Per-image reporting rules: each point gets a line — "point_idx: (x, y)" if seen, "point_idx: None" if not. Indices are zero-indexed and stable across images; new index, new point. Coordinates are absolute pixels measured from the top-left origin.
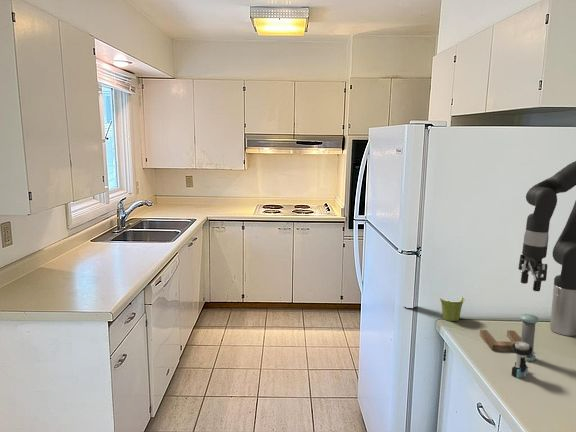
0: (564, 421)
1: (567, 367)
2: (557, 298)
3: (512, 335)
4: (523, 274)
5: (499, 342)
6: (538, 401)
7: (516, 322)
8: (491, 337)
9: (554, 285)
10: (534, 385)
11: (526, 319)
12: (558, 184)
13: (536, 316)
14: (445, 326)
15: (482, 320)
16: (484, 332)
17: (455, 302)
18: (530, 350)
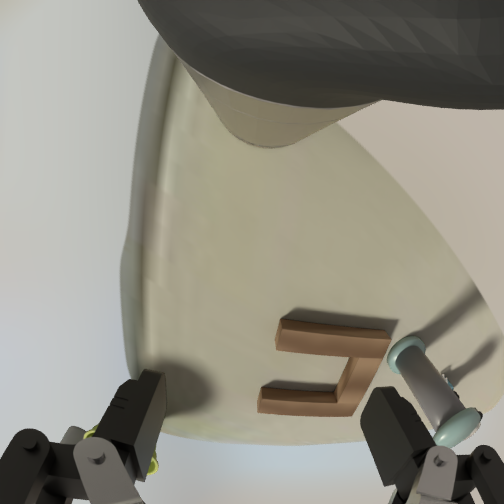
0: None
1: (466, 283)
2: (307, 127)
3: (317, 353)
4: (144, 471)
5: (345, 400)
6: (485, 385)
7: (163, 238)
8: (312, 406)
9: (250, 97)
10: (467, 377)
11: (460, 441)
12: None
13: (469, 416)
14: (193, 437)
15: (145, 344)
16: (276, 409)
17: (158, 465)
18: (481, 417)
